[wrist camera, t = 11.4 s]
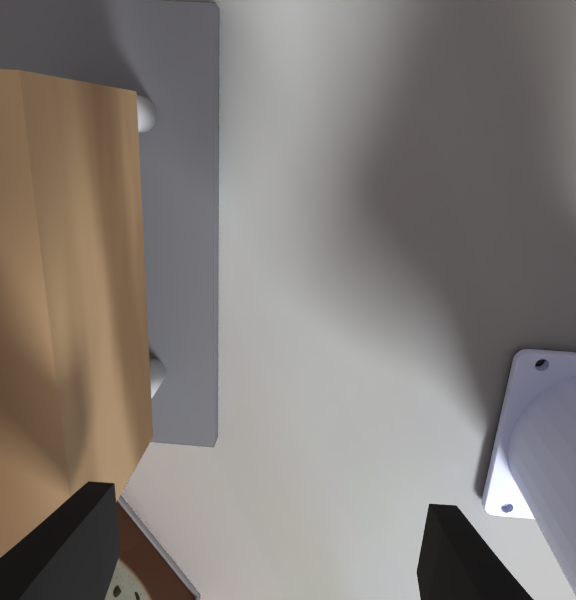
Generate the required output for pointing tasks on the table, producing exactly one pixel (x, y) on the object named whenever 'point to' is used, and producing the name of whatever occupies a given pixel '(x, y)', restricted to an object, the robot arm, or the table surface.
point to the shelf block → (69, 295)
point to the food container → (145, 565)
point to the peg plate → (153, 170)
